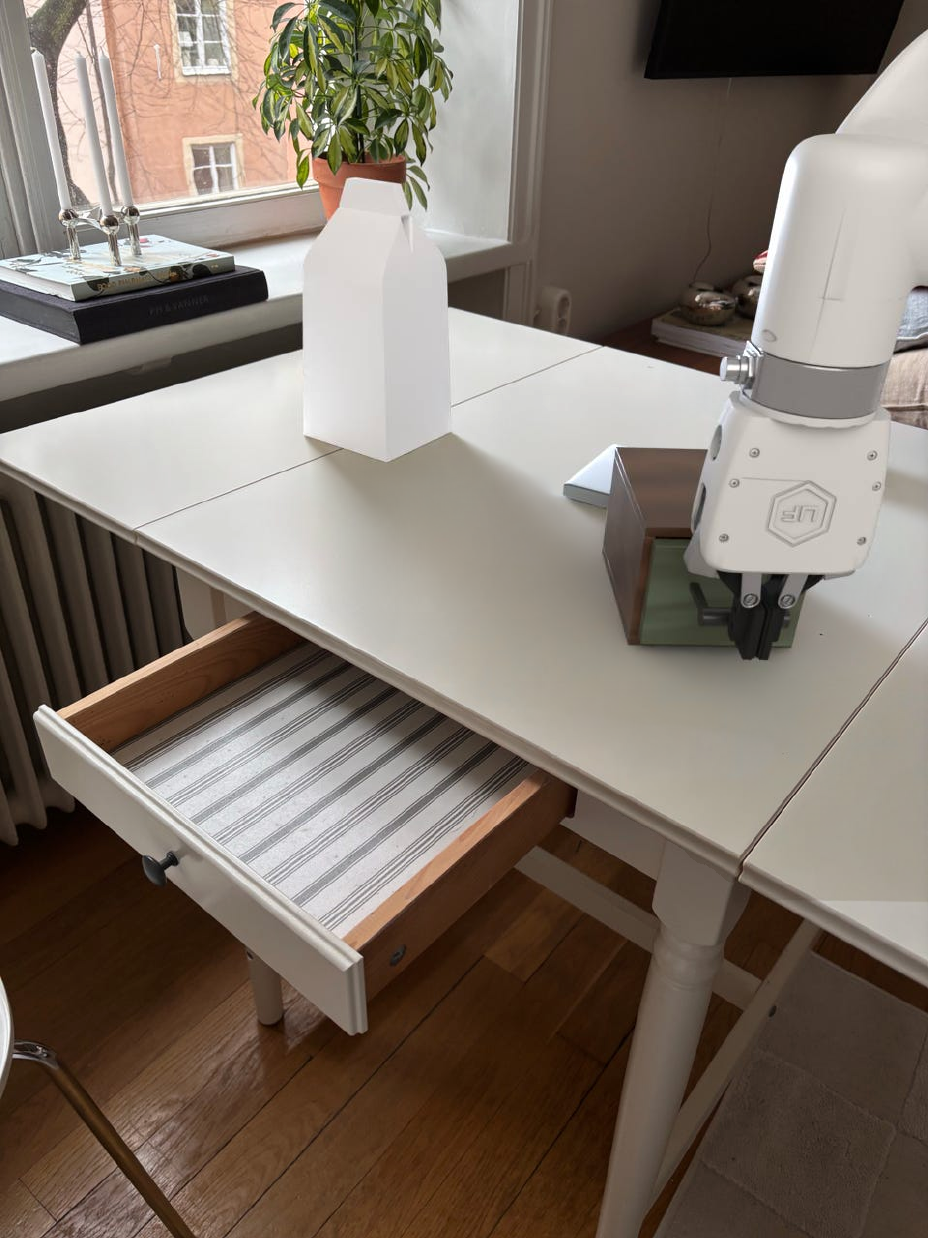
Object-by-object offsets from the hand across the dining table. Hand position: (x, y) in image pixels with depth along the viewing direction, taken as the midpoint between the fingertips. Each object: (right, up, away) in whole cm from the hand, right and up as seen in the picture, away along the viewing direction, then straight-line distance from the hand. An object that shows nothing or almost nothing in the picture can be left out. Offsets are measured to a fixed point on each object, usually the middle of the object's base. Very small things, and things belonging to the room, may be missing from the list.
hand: (749, 648), depth 64 cm
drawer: (0, +2, +11) cm, 12 cm away
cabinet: (0, +4, +15) cm, 16 cm away
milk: (-29, +23, +44) cm, 57 cm away
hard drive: (-3, +16, +34) cm, 37 cm away
